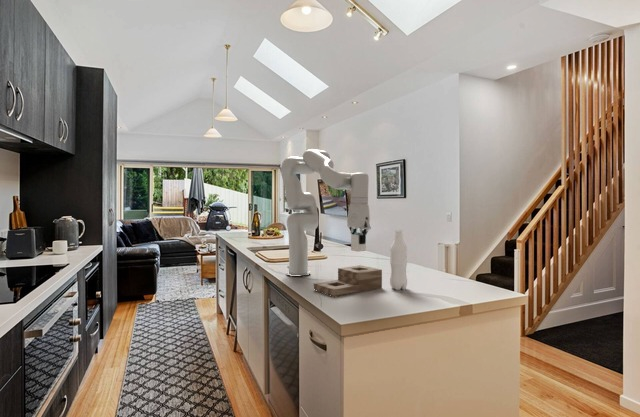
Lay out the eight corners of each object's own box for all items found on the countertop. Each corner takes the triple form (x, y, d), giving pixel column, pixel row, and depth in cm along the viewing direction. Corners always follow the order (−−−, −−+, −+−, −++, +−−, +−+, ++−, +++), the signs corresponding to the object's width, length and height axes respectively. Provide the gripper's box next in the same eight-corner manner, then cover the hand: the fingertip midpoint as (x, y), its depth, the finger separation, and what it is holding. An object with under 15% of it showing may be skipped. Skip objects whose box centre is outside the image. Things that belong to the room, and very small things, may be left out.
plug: (350, 250, 169) (351, 232, 169) (358, 249, 172) (359, 232, 171) (357, 251, 165) (358, 233, 165) (365, 250, 168) (365, 233, 168)
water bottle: (408, 290, 162) (408, 231, 161) (391, 290, 162) (391, 231, 161) (405, 286, 169) (405, 229, 168) (388, 286, 169) (388, 229, 168)
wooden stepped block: (313, 290, 163) (313, 271, 163) (360, 282, 178) (360, 265, 178) (333, 297, 151) (333, 276, 151) (381, 288, 166) (381, 269, 166)
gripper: (340, 200, 172) (339, 241, 173) (365, 202, 159) (364, 246, 159) (353, 200, 177) (352, 240, 178) (379, 202, 163) (378, 245, 164)
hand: (358, 242), depth 168 cm, fingers closed on plug, 4 cm apart
